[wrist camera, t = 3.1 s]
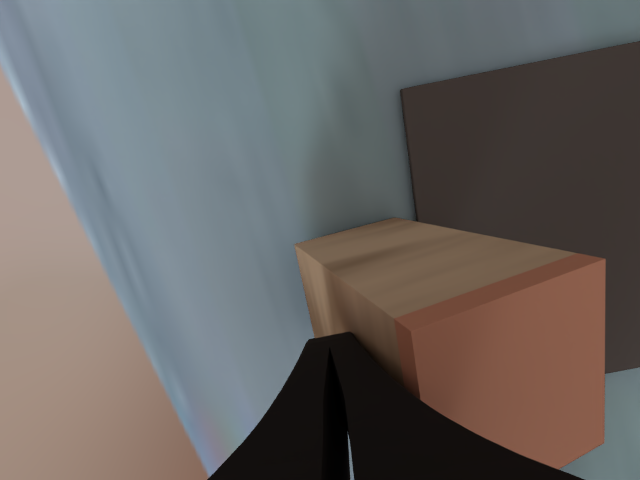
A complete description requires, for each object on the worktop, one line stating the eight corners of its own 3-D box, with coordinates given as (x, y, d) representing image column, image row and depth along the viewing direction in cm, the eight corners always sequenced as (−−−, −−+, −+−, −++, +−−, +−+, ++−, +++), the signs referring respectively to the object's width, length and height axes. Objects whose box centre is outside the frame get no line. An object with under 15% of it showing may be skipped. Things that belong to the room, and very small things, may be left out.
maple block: (408, 312, 17) (604, 443, 9) (316, 345, 16) (440, 537, 7) (394, 217, 16) (605, 259, 7) (294, 244, 14) (411, 331, 6)
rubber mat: (639, 362, 18) (645, 366, 18) (439, 400, 18) (441, 404, 18) (651, 39, 14) (658, 37, 14) (400, 90, 14) (401, 88, 14)
